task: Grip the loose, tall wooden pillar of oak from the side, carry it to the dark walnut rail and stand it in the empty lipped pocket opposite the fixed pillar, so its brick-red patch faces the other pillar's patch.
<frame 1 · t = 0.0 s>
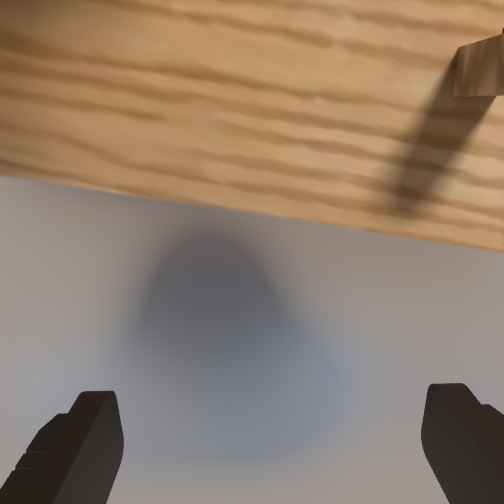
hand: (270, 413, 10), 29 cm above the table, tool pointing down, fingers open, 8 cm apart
tall wooden pillar: (478, 72, 34), on the table
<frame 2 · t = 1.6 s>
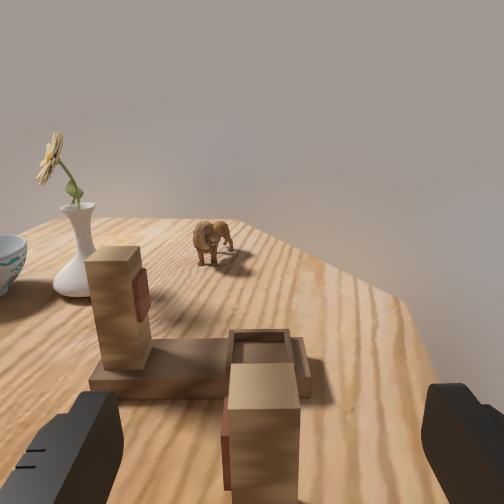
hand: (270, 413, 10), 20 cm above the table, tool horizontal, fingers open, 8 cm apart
lion figurine: (216, 260, 75), on the table
rail: (205, 376, 42), on the table
flower in vase: (92, 291, 63), on the table
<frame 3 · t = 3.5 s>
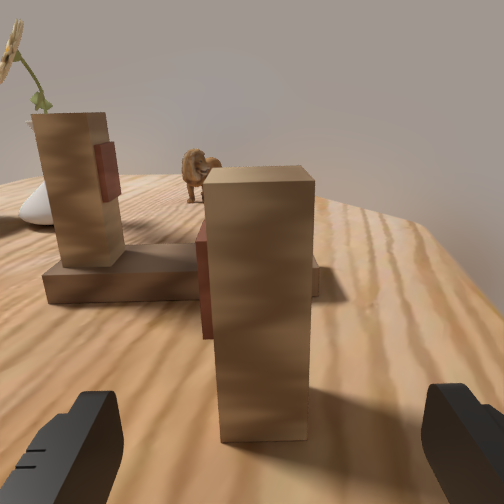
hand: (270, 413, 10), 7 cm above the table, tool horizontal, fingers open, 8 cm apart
lion figurine: (207, 200, 68), on the table
tall wooden pillar: (262, 409, 20), on the table
rail: (189, 282, 35), on the table
flower in vase: (64, 223, 55), on the table
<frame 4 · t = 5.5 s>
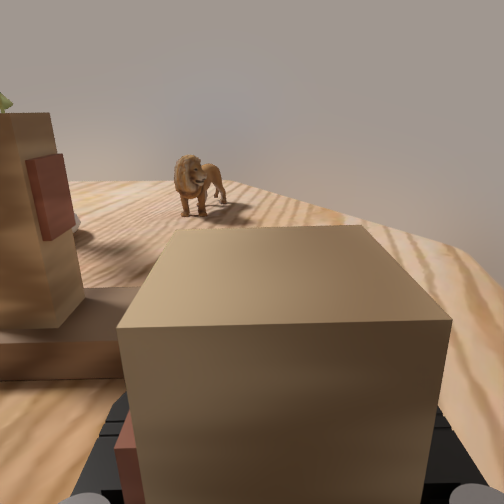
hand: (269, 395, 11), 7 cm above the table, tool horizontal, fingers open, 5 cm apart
lion figurine: (204, 212, 59), on the table
rail: (170, 342, 26), on the table
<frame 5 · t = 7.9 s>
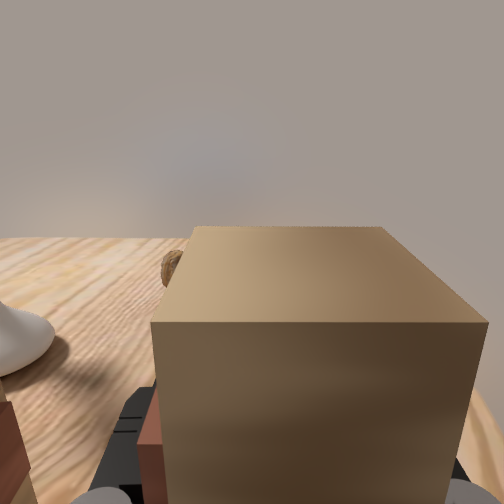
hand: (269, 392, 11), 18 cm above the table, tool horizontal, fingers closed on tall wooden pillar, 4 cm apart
lion figurine: (194, 299, 56), on the table
when the fingers open (11 cm above the table, at t = 10.1 s): tall wooden pillar drops 1 cm, resting on rail.
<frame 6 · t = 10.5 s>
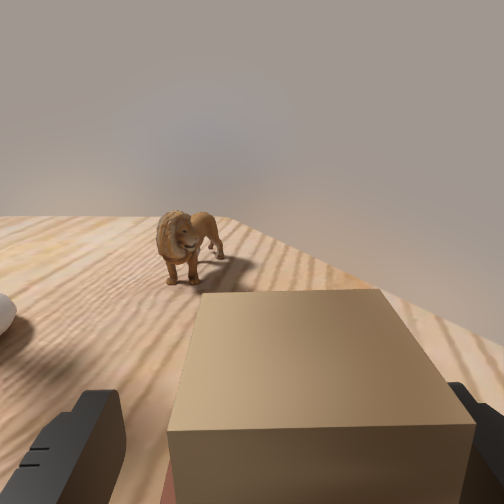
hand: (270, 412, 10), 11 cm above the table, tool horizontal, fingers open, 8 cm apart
lion figurine: (196, 275, 47), on the table
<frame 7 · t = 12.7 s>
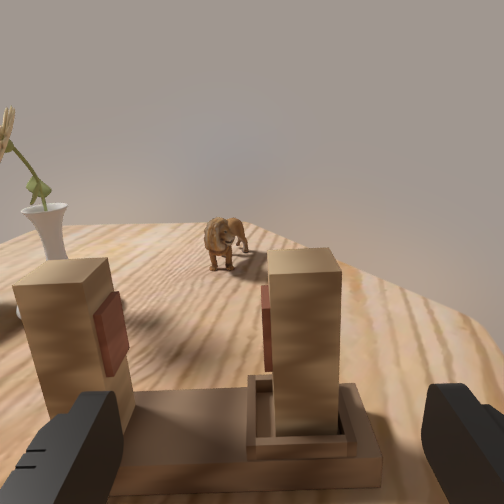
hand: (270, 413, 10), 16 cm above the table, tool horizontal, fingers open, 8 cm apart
lion figurine: (230, 264, 64), on the table
tall wooden pillar: (303, 419, 27), point 2 cm above the table, touching rail
rail: (214, 448, 28), on the table
flower in vase: (68, 315, 50), on the table
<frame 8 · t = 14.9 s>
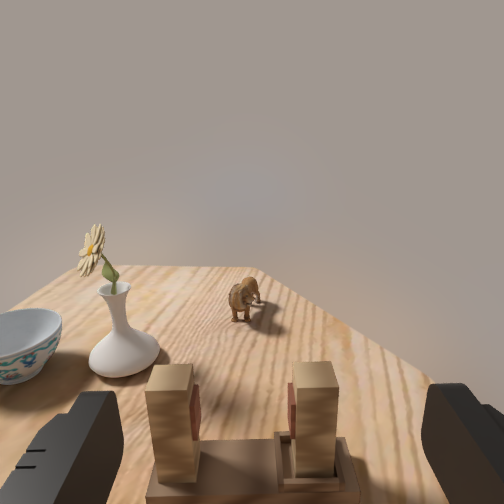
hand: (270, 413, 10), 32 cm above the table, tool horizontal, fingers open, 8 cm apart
lion figurine: (247, 315, 79), on the table
tall wooden pillar: (311, 464, 43), point 2 cm above the table, touching rail
chinaware: (20, 372, 64), on the table
rail: (253, 481, 44), on the table
flower in vase: (126, 366, 64), on the table
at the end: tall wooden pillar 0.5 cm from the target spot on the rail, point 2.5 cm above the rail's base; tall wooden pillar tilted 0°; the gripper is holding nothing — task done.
